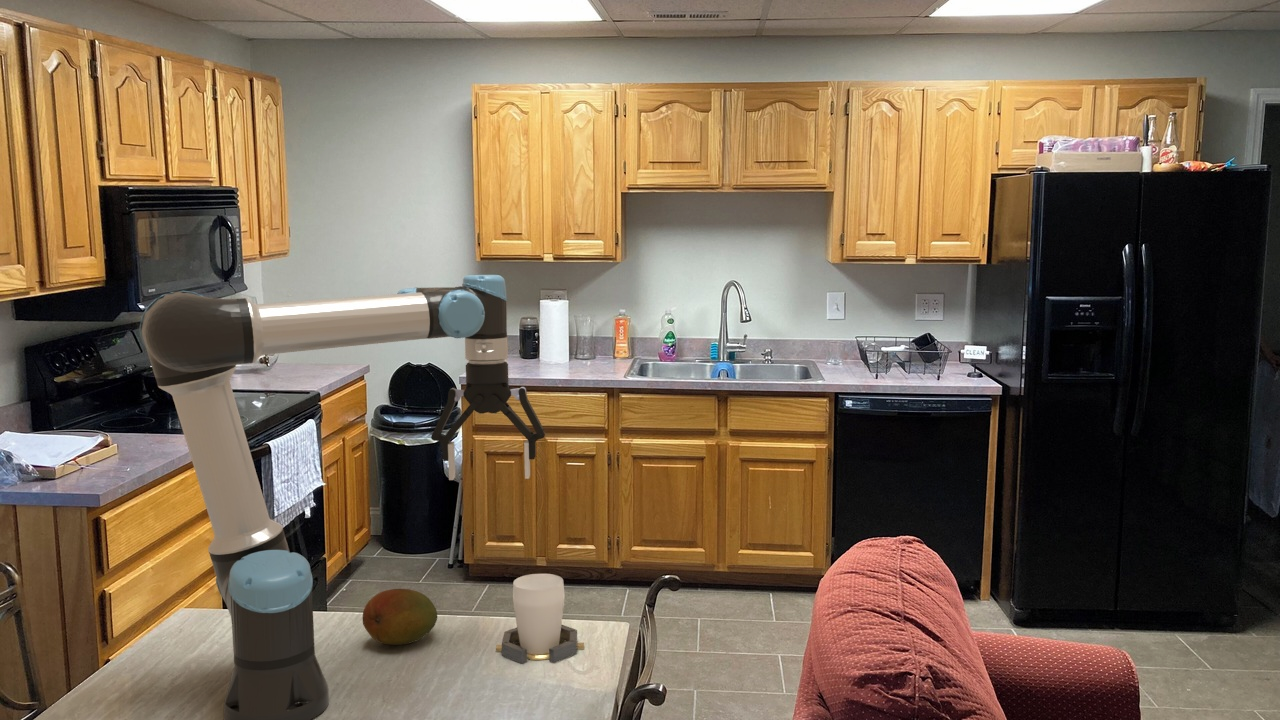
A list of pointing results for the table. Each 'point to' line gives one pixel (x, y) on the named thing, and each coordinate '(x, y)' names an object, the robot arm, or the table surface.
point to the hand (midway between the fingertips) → (490, 477)
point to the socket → (554, 655)
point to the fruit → (399, 616)
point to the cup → (538, 611)
